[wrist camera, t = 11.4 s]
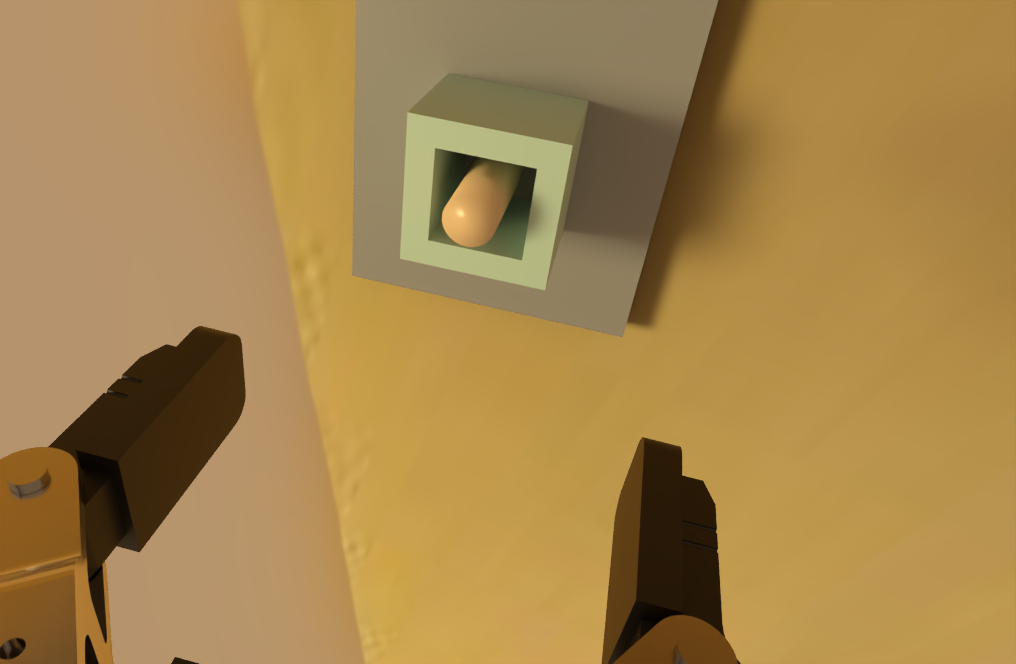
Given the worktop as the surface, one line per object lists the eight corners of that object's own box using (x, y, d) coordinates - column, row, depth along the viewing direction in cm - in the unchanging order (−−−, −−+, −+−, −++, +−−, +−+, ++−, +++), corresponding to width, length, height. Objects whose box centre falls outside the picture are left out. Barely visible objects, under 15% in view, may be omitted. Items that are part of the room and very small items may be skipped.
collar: (448, 73, 30) (407, 112, 26) (589, 100, 30) (572, 145, 25) (437, 204, 33) (399, 258, 29) (563, 230, 33) (545, 290, 28)
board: (368, -84, 28) (273, -64, 22) (720, -19, 27) (734, 23, 21) (360, 264, 38) (292, 354, 31) (624, 323, 36) (611, 430, 30)
